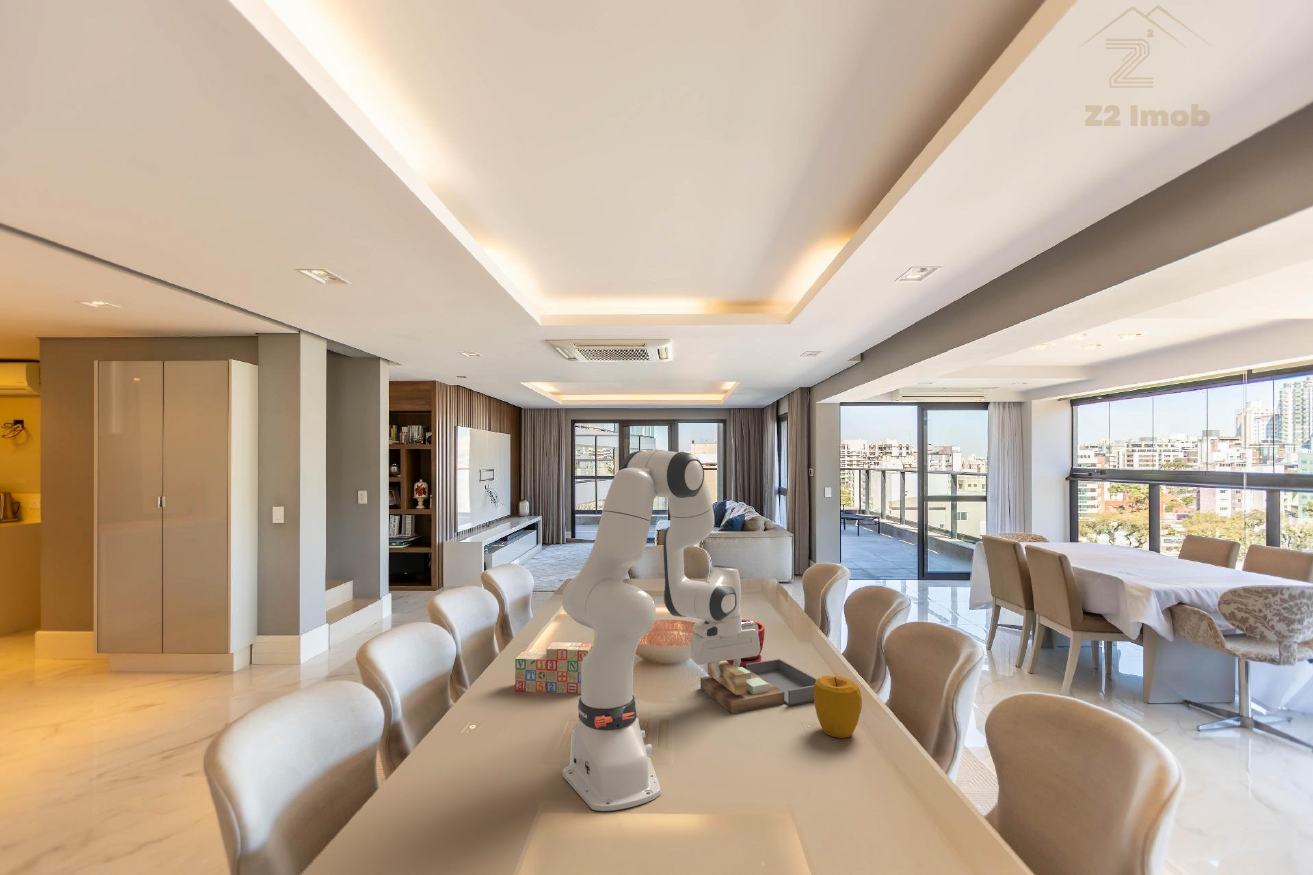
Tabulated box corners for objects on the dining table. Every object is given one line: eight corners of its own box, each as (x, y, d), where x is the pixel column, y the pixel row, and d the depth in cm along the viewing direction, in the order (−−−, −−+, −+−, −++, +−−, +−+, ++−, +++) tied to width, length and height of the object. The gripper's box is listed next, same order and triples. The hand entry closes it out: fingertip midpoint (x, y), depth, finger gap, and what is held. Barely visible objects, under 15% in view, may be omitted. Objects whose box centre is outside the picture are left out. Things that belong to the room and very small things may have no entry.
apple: (860, 725, 135) (859, 671, 136) (864, 746, 124) (863, 688, 125) (813, 720, 138) (812, 667, 138) (814, 740, 127) (812, 683, 128)
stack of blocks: (514, 691, 157) (514, 647, 158) (521, 683, 163) (522, 640, 164) (588, 694, 155) (588, 649, 156) (593, 685, 161) (593, 642, 162)
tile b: (751, 679, 157) (750, 672, 157) (735, 682, 155) (735, 674, 155) (741, 673, 161) (741, 666, 161) (726, 676, 159) (726, 669, 159)
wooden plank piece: (747, 692, 145) (746, 673, 145) (736, 694, 144) (736, 675, 144) (718, 672, 160) (717, 654, 160) (707, 674, 158) (707, 656, 159)
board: (784, 703, 148) (784, 691, 148) (732, 713, 142) (731, 701, 142) (748, 679, 164) (748, 669, 164) (700, 688, 158) (700, 677, 158)
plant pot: (722, 667, 175) (721, 628, 176) (726, 653, 188) (726, 618, 188) (764, 670, 172) (763, 631, 173) (766, 656, 185) (765, 620, 185)
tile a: (768, 691, 148) (768, 683, 148) (752, 694, 146) (752, 686, 146) (758, 684, 153) (758, 677, 153) (743, 687, 151) (742, 679, 151)
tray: (826, 698, 150) (826, 683, 151) (789, 706, 146) (789, 690, 146) (779, 671, 171) (779, 658, 171) (746, 677, 166) (745, 663, 166)
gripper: (751, 617, 159) (752, 666, 158) (687, 625, 152) (688, 677, 151) (764, 623, 153) (765, 674, 153) (697, 631, 146) (698, 685, 145)
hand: (726, 675), depth 152 cm, fingers closed on wooden plank piece, 3 cm apart
